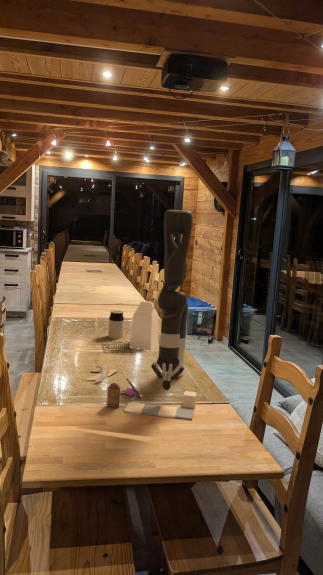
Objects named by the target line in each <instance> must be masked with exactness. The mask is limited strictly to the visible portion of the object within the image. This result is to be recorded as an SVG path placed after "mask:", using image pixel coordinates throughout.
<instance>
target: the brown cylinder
mask: <svg viewBox="0 0 323 575" xmlns="http://www.w3.org/2000/svg"><path fill="white" fill-rule="evenodd" d="M120 396H121V387H120V386H119V384H118V383H117V382H112V383H110V385H109V386H108V387H107V396H106V397H107V398H106V399H107V401H106V403H107V404H106V408H108V409H110V410H111V409H112V410H115V409H119V407H120V399H121V397H120Z"/></svg>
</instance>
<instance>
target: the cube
mask: <svg viewBox="0 0 323 575" xmlns="http://www.w3.org/2000/svg"><path fill="white" fill-rule="evenodd" d="M182 399H183V400H182V408H190V409H196V405H197V404H196V403H197V392H196V391H187V390H185V391H184V392H183V398H182Z"/></svg>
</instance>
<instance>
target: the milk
mask: <svg viewBox="0 0 323 575" xmlns="http://www.w3.org/2000/svg"><path fill="white" fill-rule="evenodd" d="M131 321H132V324H131V332H130V339H129V342H130V343H129V347H130V346H131V347H133V348H139V349H145V350H149V351H148V352H152V351H151V350H153V349H154V348H155V347H156V346H158V347H159V314H158V312H157V310H156V309H155V305H154V302H153V301H148V300H147V301H146V300H141V301H140V302H139V304H138V306H137V308H136V310H135V311H134V313H133V315H132V320H131ZM145 350H144V351H145Z"/></svg>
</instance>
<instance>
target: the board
mask: <svg viewBox="0 0 323 575" xmlns="http://www.w3.org/2000/svg"><path fill="white" fill-rule="evenodd" d="M123 412H124V413H130V414H135V415H147V416H155V417H164V418H171V419H179V420H180V419H181V420H189V421H193V416H194V412H195V411H194V408H185V407H175V406H166V405H165V406H164V405H159V404H158V405H157V404H150V403H149V404H148V403H140V402H131V401H130V402H128V403H127V404H126V407H125V409H124V410H123Z"/></svg>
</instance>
